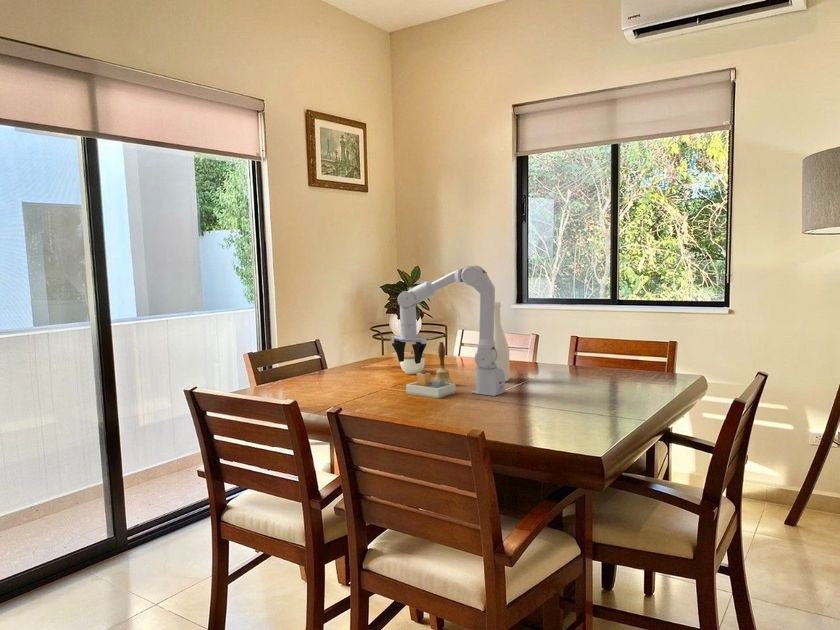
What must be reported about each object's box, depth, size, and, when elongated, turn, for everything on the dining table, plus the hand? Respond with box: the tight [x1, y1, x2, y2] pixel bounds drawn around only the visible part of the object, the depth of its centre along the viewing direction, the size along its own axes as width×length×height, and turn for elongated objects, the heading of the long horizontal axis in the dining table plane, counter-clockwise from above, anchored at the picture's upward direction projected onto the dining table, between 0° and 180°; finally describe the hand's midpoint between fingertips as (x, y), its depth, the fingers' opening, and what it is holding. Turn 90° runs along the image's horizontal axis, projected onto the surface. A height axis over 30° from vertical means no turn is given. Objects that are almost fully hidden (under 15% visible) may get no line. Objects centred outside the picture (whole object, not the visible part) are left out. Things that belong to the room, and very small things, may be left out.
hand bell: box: [434, 341, 455, 384], centre depth 226 cm, size 8×8×16 cm
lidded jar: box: [399, 350, 426, 375], centre depth 252 cm, size 11×11×9 cm
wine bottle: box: [494, 300, 511, 383], centre depth 230 cm, size 10×10×30 cm
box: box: [405, 379, 457, 399], centre depth 212 cm, size 14×10×5 cm
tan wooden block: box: [415, 369, 432, 386], centre depth 214 cm, size 4×4×7 cm
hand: (409, 362), depth 219 cm, fingers open, 7 cm apart
